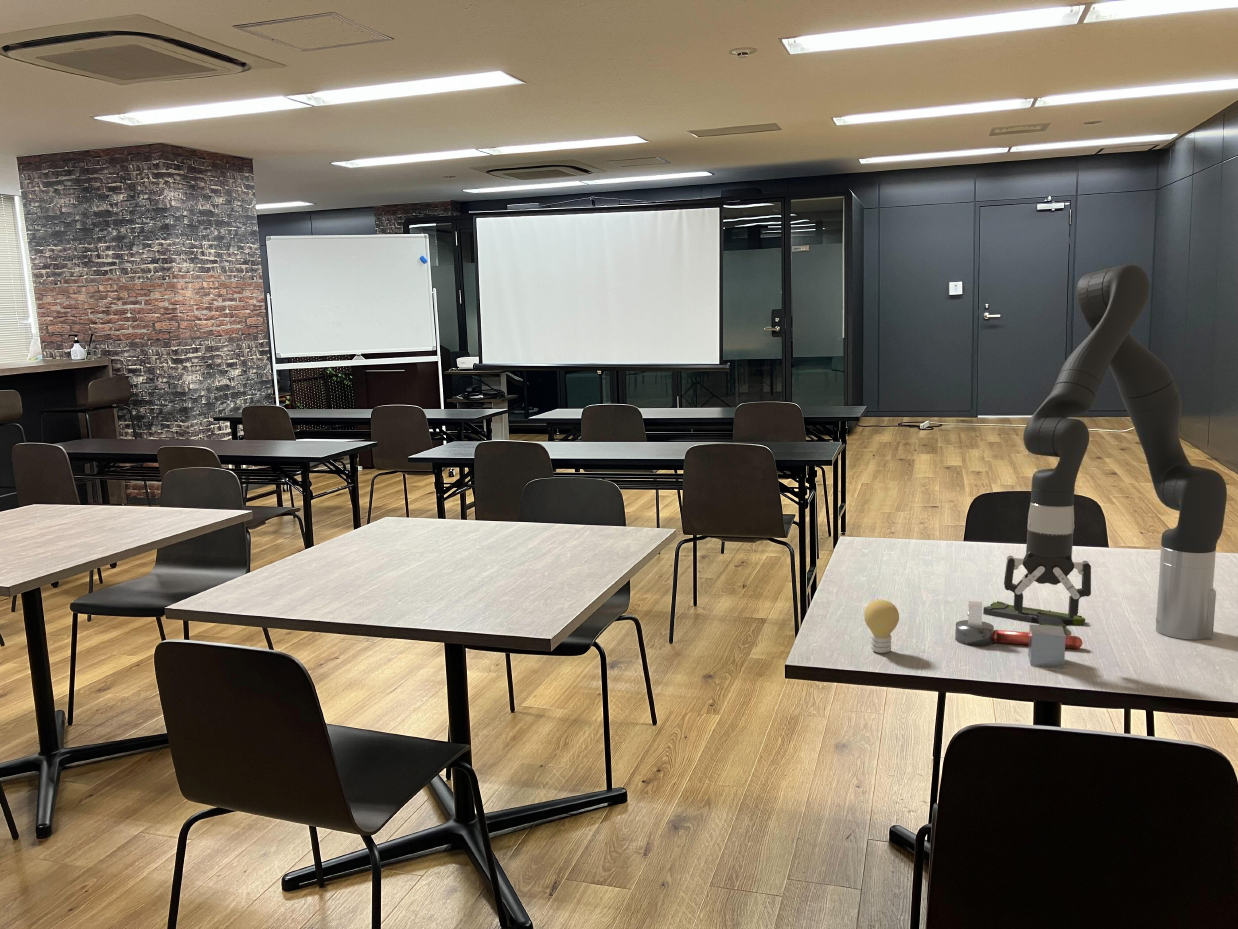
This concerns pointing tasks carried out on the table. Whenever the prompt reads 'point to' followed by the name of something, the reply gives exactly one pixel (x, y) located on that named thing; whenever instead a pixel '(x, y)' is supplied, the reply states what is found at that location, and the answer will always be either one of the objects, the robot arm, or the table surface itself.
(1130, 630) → the table surface
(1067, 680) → the table surface
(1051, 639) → the grey bevelled cube
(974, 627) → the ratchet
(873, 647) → the light bulb
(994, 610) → the gun
